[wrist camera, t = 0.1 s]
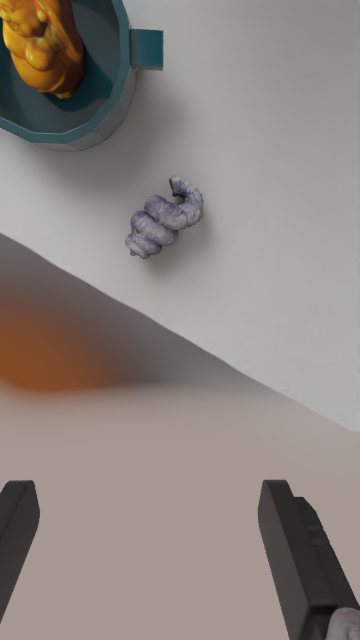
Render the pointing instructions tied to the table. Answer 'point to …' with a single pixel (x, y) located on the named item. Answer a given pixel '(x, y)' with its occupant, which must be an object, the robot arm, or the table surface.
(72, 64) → the figurine
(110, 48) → the pot
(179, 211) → the seashell
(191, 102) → the table surface
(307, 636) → the robot arm
